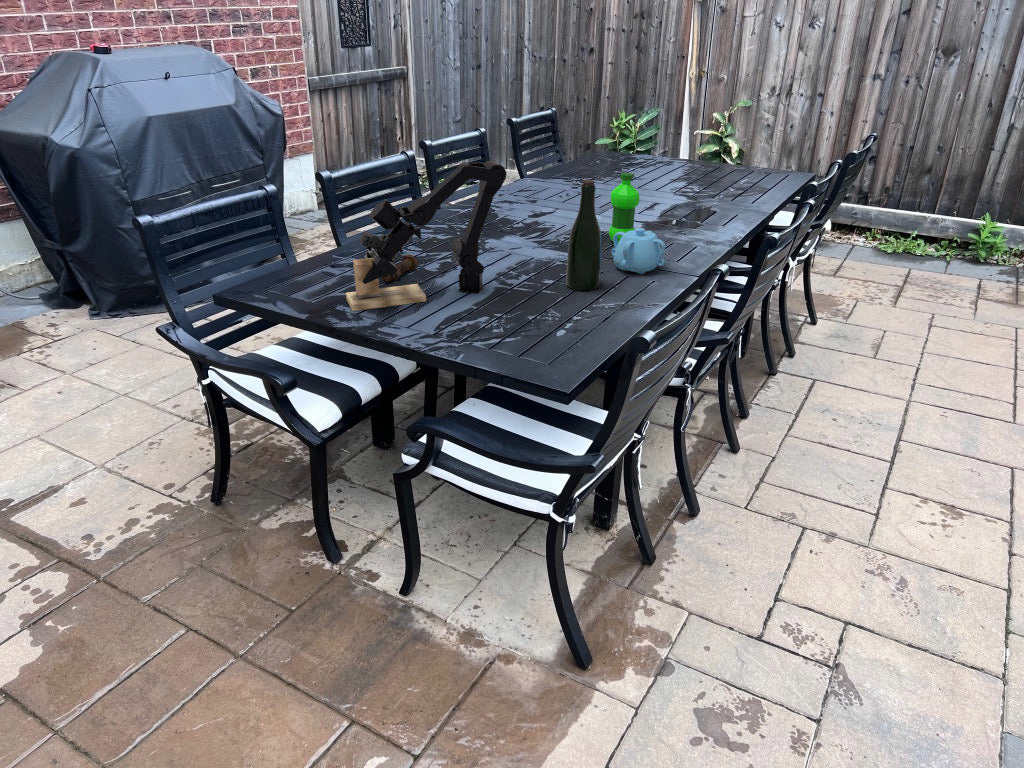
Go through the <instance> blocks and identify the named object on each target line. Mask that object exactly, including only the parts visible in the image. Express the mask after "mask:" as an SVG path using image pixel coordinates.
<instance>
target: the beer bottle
mask: <svg viewBox="0 0 1024 768" xmlns="http://www.w3.org/2000/svg"><path fill="white" fill-rule="evenodd" d="M596 189H597V186H596V184H595V180H593V179H583V180H582V184H581V185H580V201H579V208H578V213H577V215H576V218H575V220H574V222H573V224H572V227H571V229H570V233H569V238H568V247H567V261H566V263H567V264H566V277H565V279H566V281H565V282H566V286H567V287H569V288H570V289H572V290H575V291H584V292H585V291H592V290H596V289H597V288H598V287H599V286H600V280H601V277H600V276H601V263H602V261H601V260H602V259H601V258H602V232H601V228H600V224H599V220H598V219H597V214H596Z"/></svg>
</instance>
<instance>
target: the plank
mask: <svg viewBox="0 0 1024 768" xmlns="http://www.w3.org/2000/svg"><path fill="white" fill-rule="evenodd" d="M379 293H380V296H372V297H364V298H359V297H358V295H357V293H356V290H355V291H348V292H345V299H346V301H347V303H348V305H349V307H350V309H351V312H356V311H357V312H358V311H364V310H371V309H378V308H379V309H380V308H386V307H387V308H388V307H394V306H395V307H396V306H400V305H401V306H402V305H408V304H417V303H423V302H427V296H426V293H425V292H424V291H423V290H422V288H421V287H420V285H419V284H418V283H411V284H405V285H398V286H397V285H396V286H389V287H381V288H380V287H379Z"/></svg>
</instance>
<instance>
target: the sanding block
mask: <svg viewBox="0 0 1024 768" xmlns="http://www.w3.org/2000/svg"><path fill="white" fill-rule="evenodd" d="M372 260H373V261H375V259H374V258H366V257H365V258H360V259H359V258H357V259H353V261H352V263H353V271H354V272H353V273H354V285H355V291H356V293H357V295H358V297H359V298H364V297H372V296H380V293H379V288H380V282H379V278H378V279H376V280H373V281H371V282H369V283H367V284H364V283H363V282H362V281H363V280H364V278H365V276H366V275H367V273H368V272H369V270H370V269H371V267H372Z"/></svg>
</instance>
